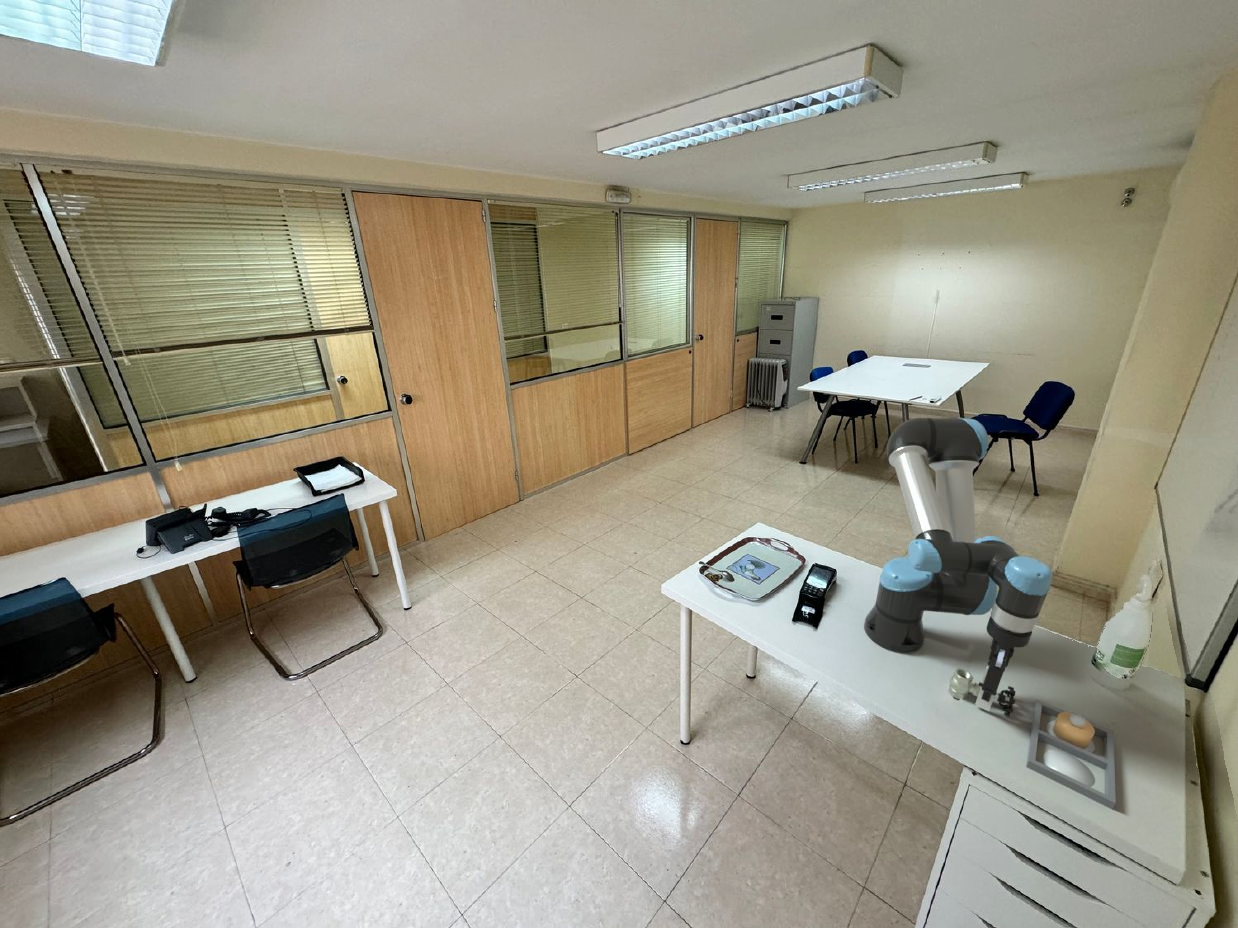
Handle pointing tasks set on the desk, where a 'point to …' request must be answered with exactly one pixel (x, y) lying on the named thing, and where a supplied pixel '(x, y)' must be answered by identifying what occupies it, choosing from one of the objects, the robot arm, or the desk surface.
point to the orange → (1073, 729)
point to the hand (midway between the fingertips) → (984, 697)
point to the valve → (978, 690)
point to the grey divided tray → (1072, 759)
